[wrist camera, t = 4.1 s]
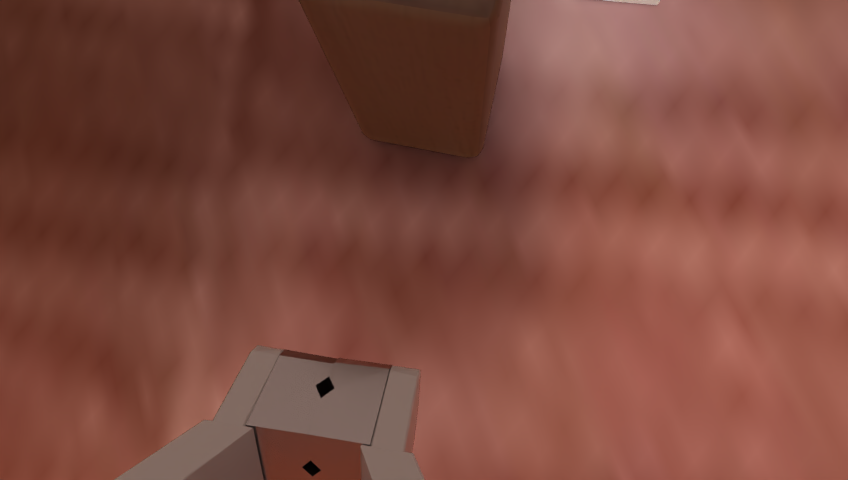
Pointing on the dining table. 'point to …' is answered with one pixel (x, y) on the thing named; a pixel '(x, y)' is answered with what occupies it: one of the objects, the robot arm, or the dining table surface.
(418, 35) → the wooden block
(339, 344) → the dining table surface
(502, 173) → the dining table surface
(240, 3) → the dining table surface
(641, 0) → the plate
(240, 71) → the dining table surface
